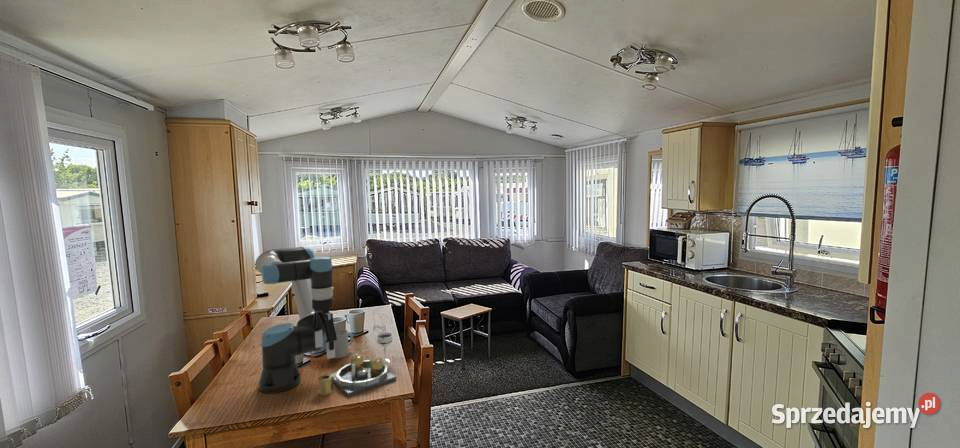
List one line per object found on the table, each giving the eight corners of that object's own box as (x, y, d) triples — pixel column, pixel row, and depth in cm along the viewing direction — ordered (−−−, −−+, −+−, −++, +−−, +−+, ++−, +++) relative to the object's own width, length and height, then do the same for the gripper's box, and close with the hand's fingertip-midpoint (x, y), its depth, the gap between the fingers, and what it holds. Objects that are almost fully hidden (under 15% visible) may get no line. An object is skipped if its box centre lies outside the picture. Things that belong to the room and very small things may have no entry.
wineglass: (381, 357, 179) (380, 332, 178) (395, 357, 178) (394, 332, 177) (375, 363, 172) (374, 337, 171) (389, 364, 171) (388, 338, 170)
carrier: (348, 396, 144) (347, 375, 143) (329, 377, 159) (329, 358, 158) (396, 379, 157) (395, 359, 156) (375, 363, 172) (374, 345, 171)
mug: (336, 360, 176) (336, 337, 175) (326, 355, 181) (325, 333, 180) (358, 351, 186) (357, 329, 185) (347, 347, 191) (346, 326, 190)
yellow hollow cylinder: (322, 396, 144) (321, 381, 144) (318, 391, 148) (317, 376, 147) (335, 392, 147) (334, 377, 147) (330, 387, 151) (330, 373, 150)
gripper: (344, 302, 137) (346, 359, 139) (322, 290, 156) (324, 340, 158) (323, 306, 133) (325, 365, 134) (302, 293, 152) (305, 345, 153)
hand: (325, 352), depth 146 cm, fingers open, 13 cm apart
